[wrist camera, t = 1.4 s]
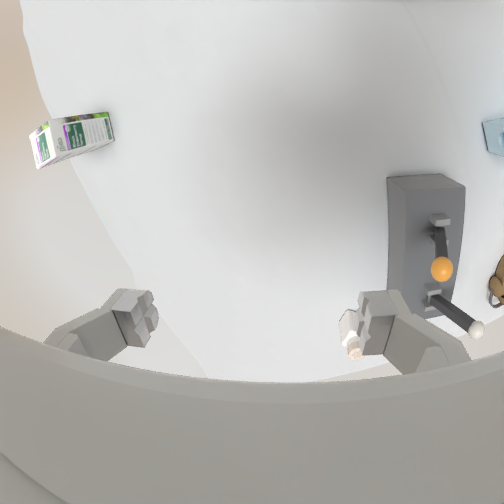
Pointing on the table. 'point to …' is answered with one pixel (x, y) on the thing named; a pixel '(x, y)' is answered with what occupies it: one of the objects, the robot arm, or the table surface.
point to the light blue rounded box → (495, 135)
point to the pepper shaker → (350, 335)
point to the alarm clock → (497, 285)
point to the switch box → (422, 236)
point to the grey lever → (457, 316)
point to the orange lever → (441, 257)
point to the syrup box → (70, 137)
